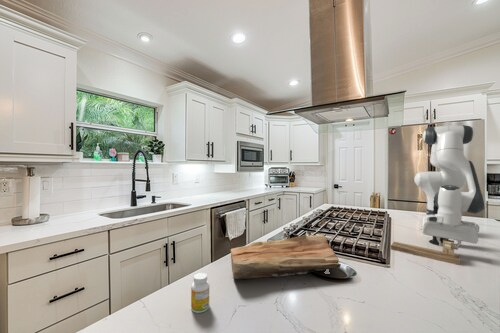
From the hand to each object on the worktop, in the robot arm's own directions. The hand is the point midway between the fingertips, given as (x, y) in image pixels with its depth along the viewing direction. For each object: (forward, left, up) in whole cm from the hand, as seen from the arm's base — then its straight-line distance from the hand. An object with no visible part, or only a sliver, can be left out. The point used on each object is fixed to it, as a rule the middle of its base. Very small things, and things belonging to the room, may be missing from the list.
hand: (448, 247), depth 111 cm
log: (+71, -47, -4) cm, 85 cm away
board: (+7, -9, -4) cm, 12 cm away
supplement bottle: (+106, -53, -4) cm, 119 cm away
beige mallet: (+4, 0, -3) cm, 5 cm away
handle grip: (-18, -4, -4) cm, 19 cm away
